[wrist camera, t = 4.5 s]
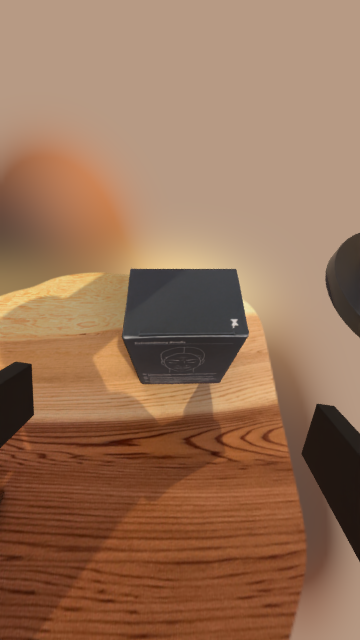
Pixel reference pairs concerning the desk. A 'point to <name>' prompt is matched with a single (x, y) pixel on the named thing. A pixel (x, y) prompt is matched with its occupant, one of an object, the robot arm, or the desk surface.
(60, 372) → the desk surface
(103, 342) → the desk surface
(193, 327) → the box
